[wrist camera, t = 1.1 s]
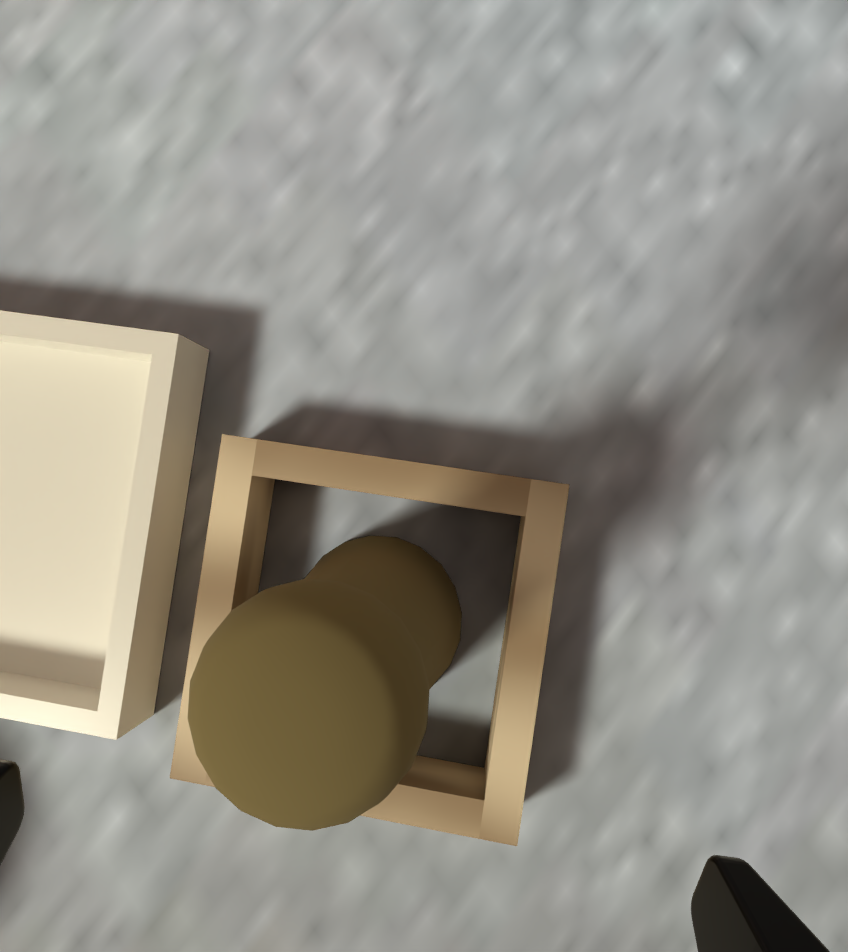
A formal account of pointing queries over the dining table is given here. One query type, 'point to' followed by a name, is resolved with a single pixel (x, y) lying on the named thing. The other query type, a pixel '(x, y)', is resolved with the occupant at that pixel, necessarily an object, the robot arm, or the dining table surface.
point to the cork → (325, 684)
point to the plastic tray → (90, 515)
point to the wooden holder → (525, 635)
